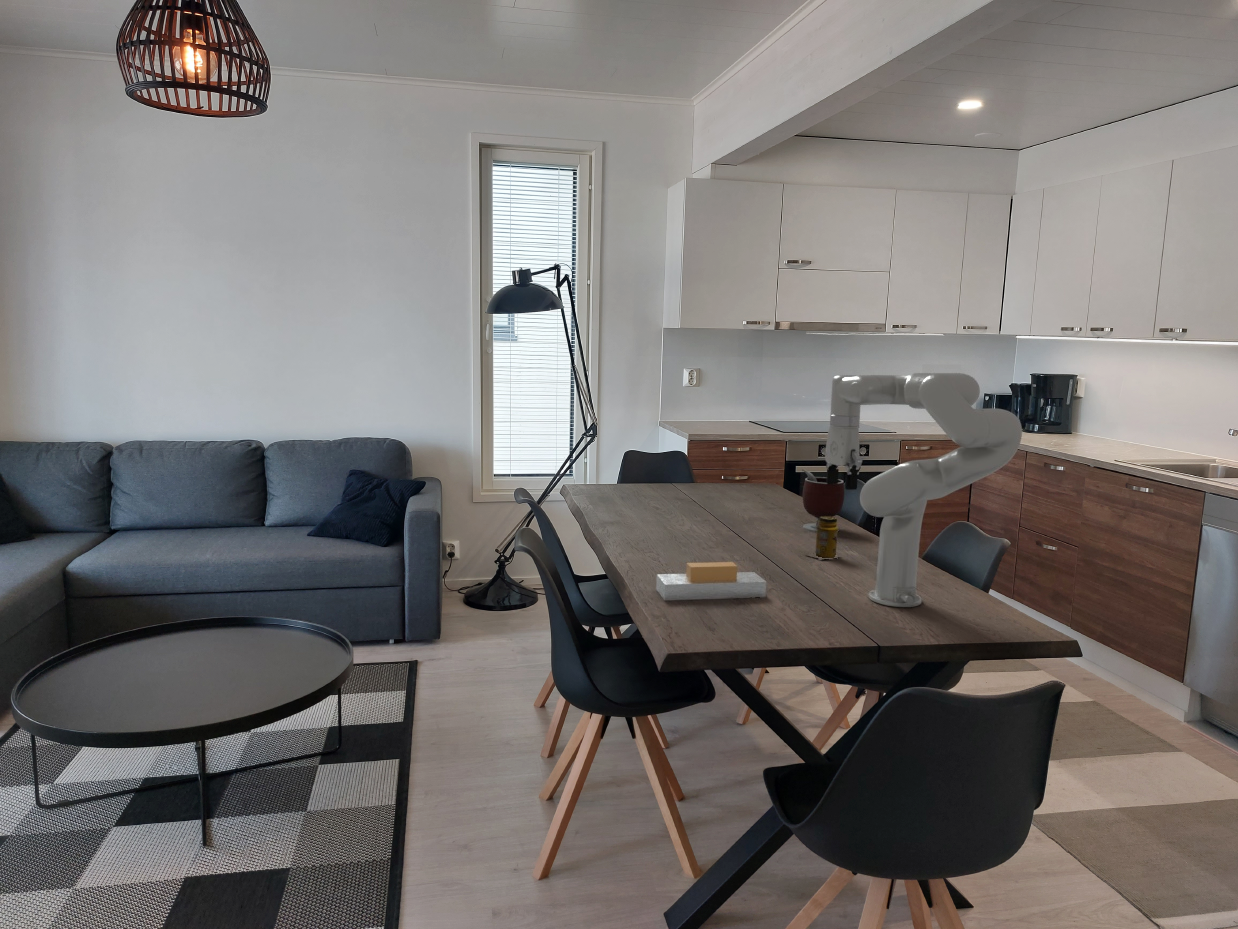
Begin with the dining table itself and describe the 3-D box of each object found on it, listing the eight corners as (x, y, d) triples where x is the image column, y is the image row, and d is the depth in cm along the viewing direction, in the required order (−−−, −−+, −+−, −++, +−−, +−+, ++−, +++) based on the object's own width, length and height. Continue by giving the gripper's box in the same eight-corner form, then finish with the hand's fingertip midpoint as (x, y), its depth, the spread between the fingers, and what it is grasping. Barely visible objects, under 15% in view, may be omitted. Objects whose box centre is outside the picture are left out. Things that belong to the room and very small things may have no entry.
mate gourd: (849, 529, 294) (853, 472, 291) (829, 535, 284) (833, 476, 281) (809, 522, 304) (812, 466, 301) (788, 527, 294) (792, 470, 291)
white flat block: (765, 597, 213) (766, 581, 212) (664, 600, 208) (665, 584, 207) (753, 586, 221) (754, 572, 221) (656, 589, 217) (656, 574, 216)
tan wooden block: (736, 593, 214) (737, 566, 213) (689, 594, 212) (690, 567, 211) (731, 588, 218) (732, 562, 217) (685, 589, 215) (686, 563, 214)
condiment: (842, 558, 254) (844, 518, 253) (822, 561, 250) (824, 521, 248) (823, 552, 260) (826, 514, 259) (804, 555, 256) (806, 516, 254)
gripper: (815, 419, 231) (812, 481, 233) (849, 425, 214) (845, 492, 217) (840, 419, 233) (837, 481, 235) (875, 425, 216) (871, 491, 219)
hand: (841, 486), depth 226 cm, fingers open, 9 cm apart
